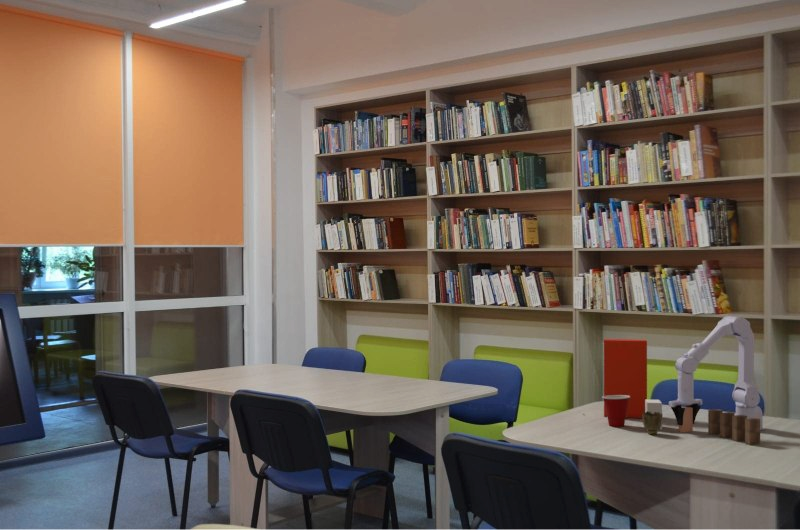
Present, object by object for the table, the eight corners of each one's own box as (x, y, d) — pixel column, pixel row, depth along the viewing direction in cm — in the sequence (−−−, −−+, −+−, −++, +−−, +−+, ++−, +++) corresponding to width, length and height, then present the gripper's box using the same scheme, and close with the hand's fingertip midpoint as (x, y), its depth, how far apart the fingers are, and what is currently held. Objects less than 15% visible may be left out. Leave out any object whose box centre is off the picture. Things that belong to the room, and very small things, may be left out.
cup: (663, 432, 306) (663, 411, 306) (661, 436, 300) (661, 415, 299) (643, 431, 309) (643, 410, 309) (640, 435, 303) (640, 413, 303)
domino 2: (718, 432, 306) (718, 409, 306) (722, 433, 304) (722, 410, 304) (708, 433, 304) (708, 410, 304) (712, 435, 302) (712, 411, 302)
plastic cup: (615, 421, 328) (615, 392, 327) (636, 426, 318) (636, 396, 318) (596, 424, 322) (596, 394, 322) (616, 429, 313) (616, 398, 312)
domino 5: (755, 442, 290) (755, 417, 289) (760, 443, 288) (760, 418, 288) (745, 444, 288) (745, 418, 288) (749, 445, 286) (749, 419, 286)
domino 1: (689, 430, 311) (689, 406, 311) (692, 431, 309) (692, 407, 309) (678, 431, 309) (678, 407, 309) (682, 432, 307) (682, 408, 307)
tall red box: (604, 413, 346) (604, 338, 346) (646, 415, 342) (646, 339, 341) (604, 416, 338) (603, 340, 338) (647, 418, 334) (646, 341, 334)
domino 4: (742, 439, 295) (742, 414, 295) (747, 440, 293) (747, 415, 293) (732, 440, 293) (732, 415, 293) (736, 441, 291) (736, 416, 291)
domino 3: (730, 436, 301) (730, 411, 301) (734, 437, 299) (734, 412, 299) (720, 437, 299) (720, 412, 299) (724, 438, 297) (724, 413, 297)
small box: (662, 430, 311) (662, 403, 311) (647, 429, 312) (647, 402, 312) (659, 426, 319) (659, 399, 319) (645, 425, 320) (645, 399, 320)
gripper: (693, 386, 315) (693, 421, 316) (663, 388, 310) (663, 423, 310) (706, 388, 309) (706, 424, 309) (676, 391, 303) (676, 427, 304)
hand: (685, 424), depth 309 cm, fingers closed on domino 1, 5 cm apart
